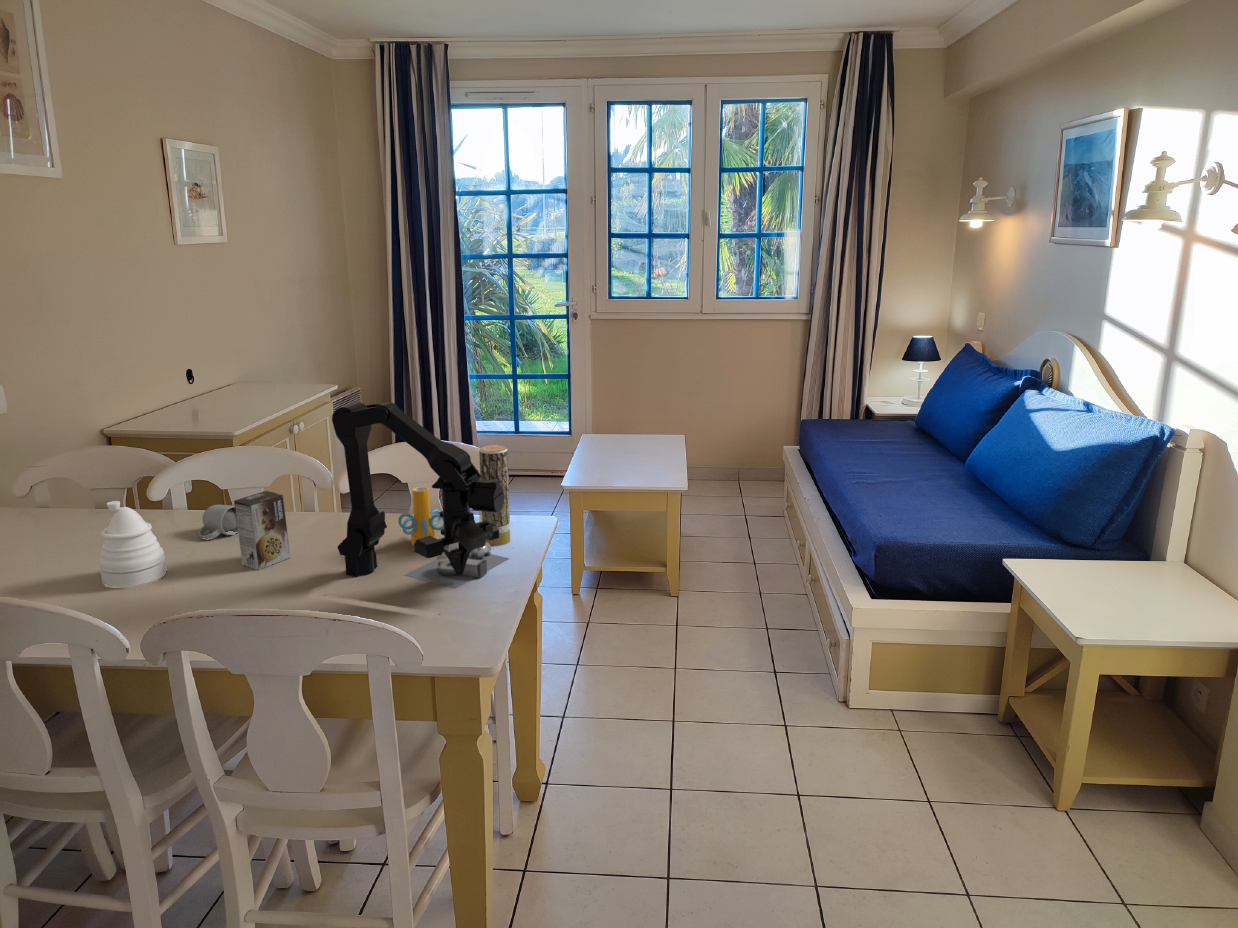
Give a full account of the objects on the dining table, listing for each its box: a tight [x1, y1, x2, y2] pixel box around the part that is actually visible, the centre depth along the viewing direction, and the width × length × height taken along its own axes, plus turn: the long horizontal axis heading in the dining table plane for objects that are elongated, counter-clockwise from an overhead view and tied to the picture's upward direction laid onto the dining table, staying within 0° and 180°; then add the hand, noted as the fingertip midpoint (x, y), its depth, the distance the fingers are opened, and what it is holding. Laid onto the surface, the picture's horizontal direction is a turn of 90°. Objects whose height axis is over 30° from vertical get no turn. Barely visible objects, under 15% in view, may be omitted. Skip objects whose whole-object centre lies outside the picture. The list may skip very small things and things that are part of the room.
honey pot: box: [98, 500, 168, 587], centre depth 190 cm, size 13×13×18 cm
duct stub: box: [471, 542, 492, 560], centre depth 202 cm, size 4×3×3 cm
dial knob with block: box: [435, 553, 488, 578], centre depth 192 cm, size 12×6×3 cm, turn 71°
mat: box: [404, 552, 511, 589], centre depth 196 cm, size 20×15×1 cm
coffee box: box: [233, 490, 291, 570], centre depth 199 cm, size 9×6×16 cm
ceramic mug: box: [198, 504, 238, 539], centre depth 218 cm, size 11×8×8 cm
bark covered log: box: [478, 444, 511, 547], centre depth 209 cm, size 7×7×25 cm
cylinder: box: [397, 486, 444, 547], centre depth 209 cm, size 12×10×15 cm
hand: (459, 575), depth 187 cm, fingers closed
